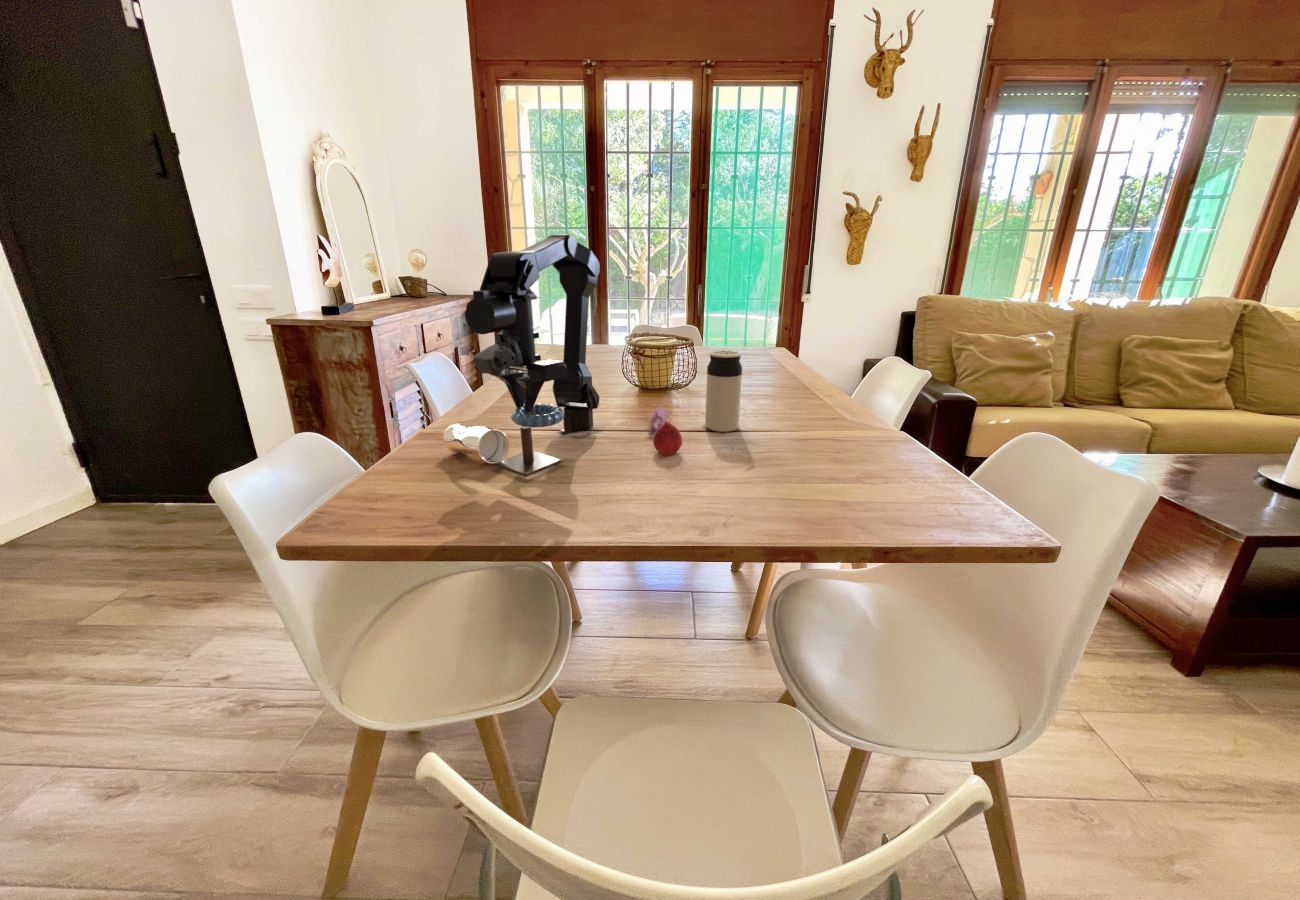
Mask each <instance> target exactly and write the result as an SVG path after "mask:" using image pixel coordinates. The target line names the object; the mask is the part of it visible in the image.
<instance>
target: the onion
mask: <svg viewBox="0 0 1300 900" xmlns="http://www.w3.org/2000/svg"><path fill="white" fill-rule="evenodd" d="M654 432H655V433H653V438H652V444H653V447H654V448H655V450H656V451H657V452H658V453H659V454H660V455H662V456H672V455H675V454H677V452H679V450H680V449H681V447H682V445H683V437H682V434H681V432H680V429H678V427H677V426H675V425H674V424H672V423H671V421H670V420H669V419H666V421H665V423H664V425H662V426H661V427H660V428H659V429H658V430H657V431H654Z"/></svg>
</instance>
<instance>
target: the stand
mask: <svg viewBox="0 0 1300 900" xmlns="http://www.w3.org/2000/svg"><path fill="white" fill-rule="evenodd" d="M519 429H520V431H519V432H520V439H521V441H520V443H521V451H522V453H518V454H516V455H514V456H511V457H508V458H506V459H505V458H504V459H503V460H502V461H500V462H498V463H495V464H494V466H496V467H498V468H501V469H504V470H507V471H509V472H513V473H515V474H517V475H521V476H524V477H529V476H531V475H534V474H536V473H538V472H540V471H544V470H545V469H548V468H550V467H553V466H555V465H558V464H560V463H562V462H563V459H560V458H558V457H555V456H552V455H549V454H545V453H542V452H539V451H535V450H534V445H533V435H532V434H533V433H532V427H524V426H520V427H519Z"/></svg>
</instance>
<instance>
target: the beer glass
mask: <svg viewBox="0 0 1300 900" xmlns="http://www.w3.org/2000/svg"><path fill="white" fill-rule="evenodd" d="M442 435H443V436H442V442H443V445H444V447H445V448H446V449H447V450H448V451H449V452H450V453H451V452H452V453H454V454H455V453H456V454H457V453H458V454H459V453H461V454H463V455H464V456H465V457H467V458H468V459H470V460H472V461H476V462H479V463H484V464H490V465H495V463H498V462H500V461H502V460H505V458H506V457H507V455H508V453H509V450H510V442H509V438H508V437H507V435H506V434H505V433H504V432H503V431H501V430H499V429H496V428H493V427H489V426H484V425H473V426H466V425H464V424H463V423H454V424H451V425H450V426H448V427H447V428H446V429H445V431H444V433H443V434H442Z"/></svg>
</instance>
